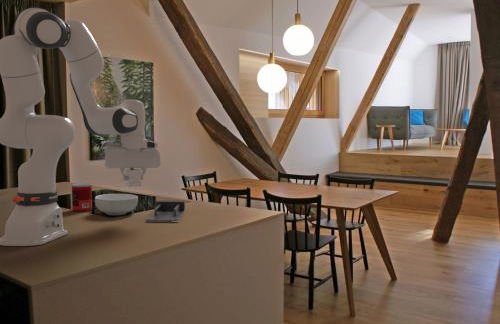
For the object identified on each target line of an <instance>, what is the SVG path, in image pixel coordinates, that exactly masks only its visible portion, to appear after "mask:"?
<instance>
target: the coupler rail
mask: <svg viewBox="0 0 500 324" xmlns="http://www.w3.org/2000/svg"><path fill="white" fill-rule="evenodd" d="M154 205H155V207H154V211H153V212H151V214H150V215H148V217H147V218H146V219H145V223H171V222H170V221H179V222H180V220H181V219H180V217H181V216H182V214H183V213H184V211H185V212H186V200H168V199H167V200H164V199H163V200H161V199H159V200H158V199H157V200H155V202H154ZM184 214H185V213H184ZM184 214H183V215H184ZM182 217H183V216H182ZM182 217H181V218H182ZM179 219H180V220H179Z"/></svg>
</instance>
